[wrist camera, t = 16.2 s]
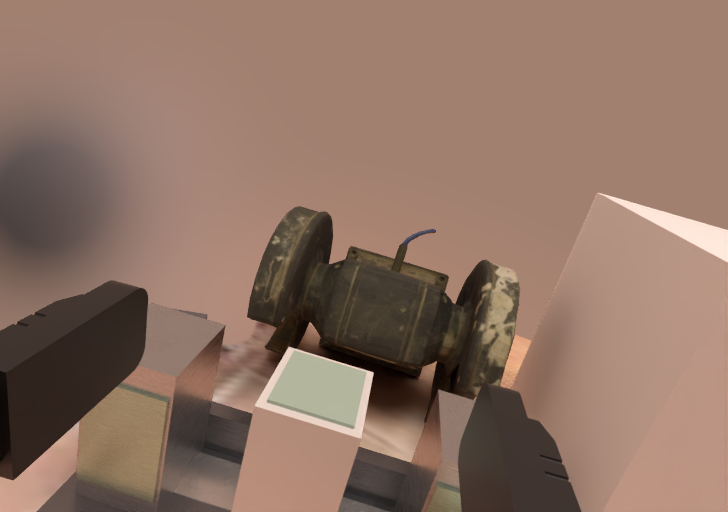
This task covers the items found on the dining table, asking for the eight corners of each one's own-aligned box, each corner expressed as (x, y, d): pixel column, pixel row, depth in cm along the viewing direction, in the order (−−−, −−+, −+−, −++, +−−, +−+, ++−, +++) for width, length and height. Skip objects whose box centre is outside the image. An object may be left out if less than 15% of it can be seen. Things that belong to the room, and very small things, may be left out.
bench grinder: (482, 482, 32) (565, 226, 35) (204, 368, 34) (302, 134, 37) (444, 422, 52) (499, 262, 55) (270, 352, 54) (330, 201, 57)
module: (335, 493, 31) (374, 369, 28) (316, 578, 25) (362, 435, 22) (259, 469, 31) (289, 344, 28) (223, 548, 25) (255, 402, 22)
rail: (471, 529, 32) (527, 406, 29) (488, 676, 24) (571, 527, 20) (132, 422, 33) (147, 291, 30) (33, 528, 25) (37, 361, 21)
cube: (951, 870, 22) (1486, 495, 14) (515, 661, 25) (742, 270, 18) (711, 489, 45) (860, 268, 37) (502, 408, 49) (597, 192, 41)
